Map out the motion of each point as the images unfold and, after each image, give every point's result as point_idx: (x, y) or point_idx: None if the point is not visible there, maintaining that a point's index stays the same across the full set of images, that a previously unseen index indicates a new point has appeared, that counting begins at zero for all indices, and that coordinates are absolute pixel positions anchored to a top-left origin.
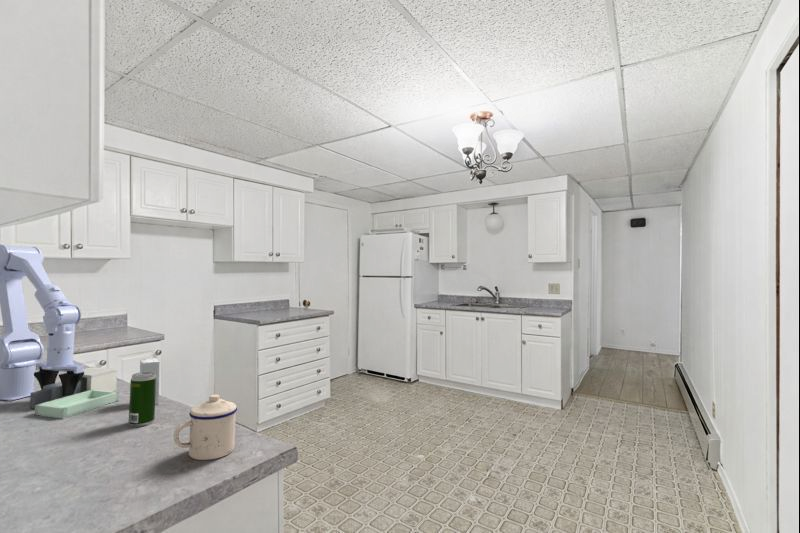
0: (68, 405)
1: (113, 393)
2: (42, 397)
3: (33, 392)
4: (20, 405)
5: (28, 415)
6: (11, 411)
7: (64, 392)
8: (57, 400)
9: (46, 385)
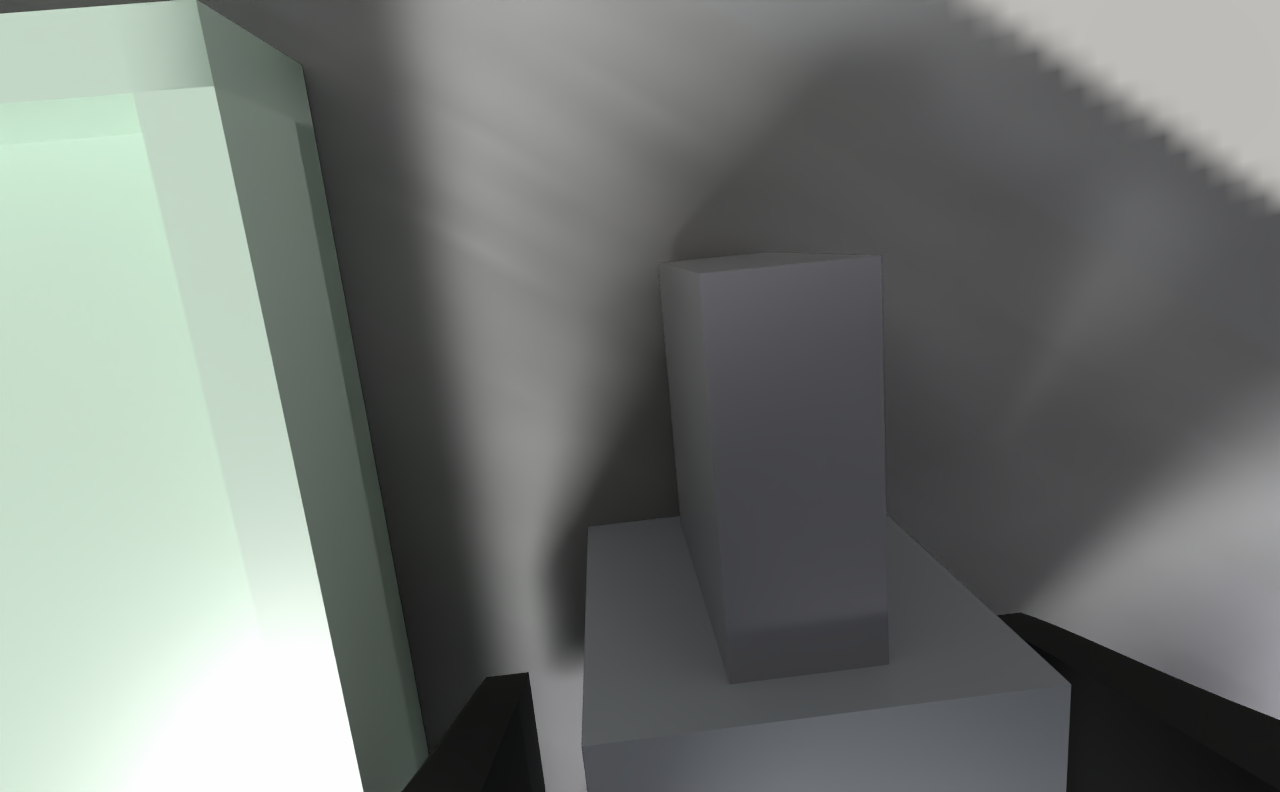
0: (223, 557)
1: None
2: (692, 429)
3: (838, 305)
4: (1105, 313)
5: (387, 11)
6: (909, 44)
7: (443, 752)
8: (225, 460)
9: (1046, 755)
